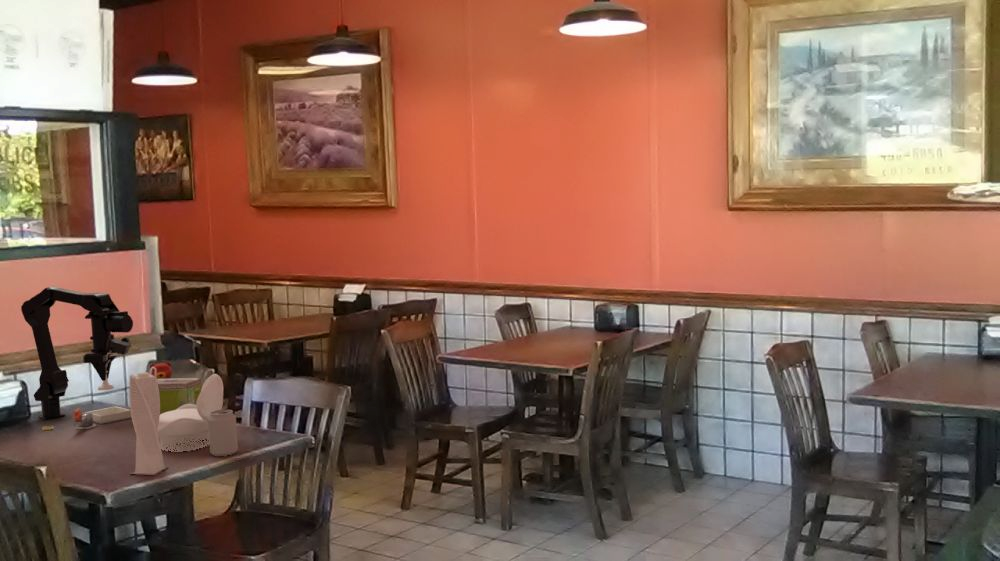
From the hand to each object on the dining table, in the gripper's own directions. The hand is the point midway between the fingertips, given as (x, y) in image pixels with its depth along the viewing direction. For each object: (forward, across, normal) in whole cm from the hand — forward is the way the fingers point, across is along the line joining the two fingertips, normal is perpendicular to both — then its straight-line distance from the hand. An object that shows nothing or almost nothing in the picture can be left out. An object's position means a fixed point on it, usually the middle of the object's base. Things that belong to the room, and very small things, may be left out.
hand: (105, 379), depth 338 cm
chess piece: (+3, 0, 0) cm, 3 cm away
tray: (+13, 0, 0) cm, 13 cm away
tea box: (+13, -16, -26) cm, 34 cm away
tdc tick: (+13, -12, +15) cm, 23 cm away
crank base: (+13, -10, +3) cm, 17 cm away
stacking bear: (+13, -1, -19) cm, 23 cm away
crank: (+12, -14, +3) cm, 19 cm away
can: (+13, -52, -50) cm, 73 cm away
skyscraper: (+13, -68, -35) cm, 77 cm away
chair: (+13, -40, -38) cm, 57 cm away
